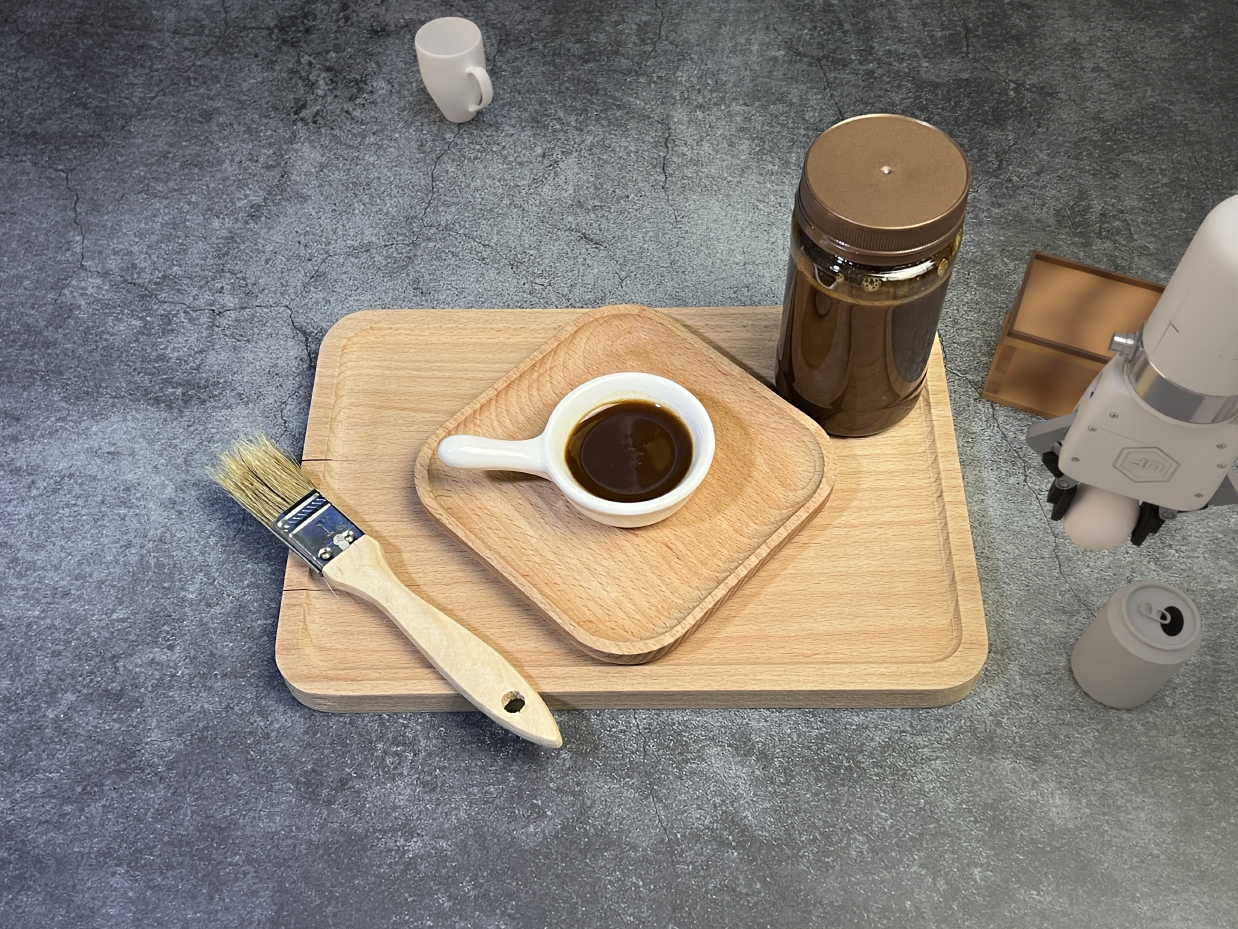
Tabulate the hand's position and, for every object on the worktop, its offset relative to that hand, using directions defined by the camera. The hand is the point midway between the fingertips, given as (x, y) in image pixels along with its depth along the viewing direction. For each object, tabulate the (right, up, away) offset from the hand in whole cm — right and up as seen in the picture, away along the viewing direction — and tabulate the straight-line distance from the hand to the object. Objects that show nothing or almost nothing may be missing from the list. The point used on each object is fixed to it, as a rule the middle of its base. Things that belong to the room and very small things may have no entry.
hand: (1097, 516), depth 85 cm
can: (+7, -15, +15) cm, 22 cm away
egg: (0, -2, +3) cm, 3 cm away
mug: (-57, +49, +60) cm, 96 cm away
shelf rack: (+10, +13, +34) cm, 38 cm away
